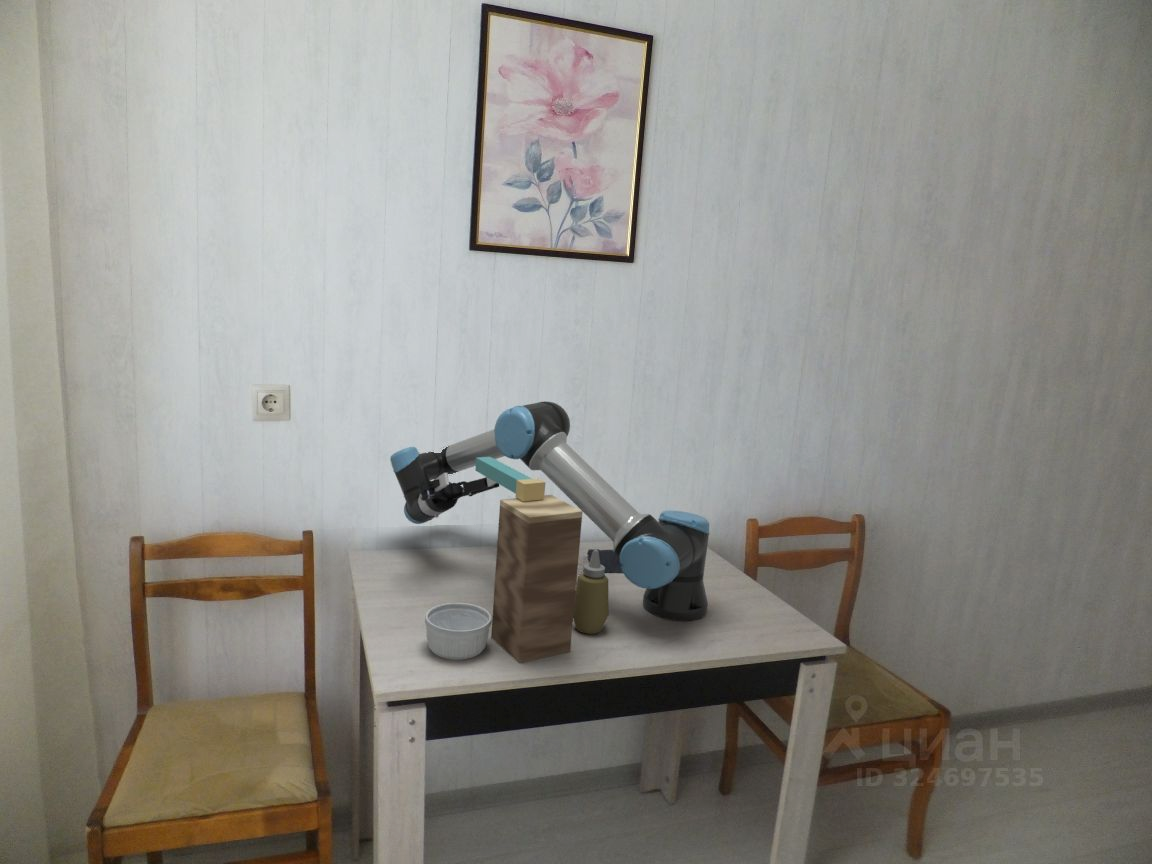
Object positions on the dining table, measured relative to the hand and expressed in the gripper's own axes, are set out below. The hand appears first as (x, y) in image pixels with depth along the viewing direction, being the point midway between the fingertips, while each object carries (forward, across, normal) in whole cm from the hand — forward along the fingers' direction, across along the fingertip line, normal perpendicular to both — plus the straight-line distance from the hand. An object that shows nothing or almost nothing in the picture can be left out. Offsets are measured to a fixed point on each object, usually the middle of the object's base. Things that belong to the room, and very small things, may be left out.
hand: (474, 476), depth 191 cm
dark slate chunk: (-16, -48, -24) cm, 56 cm away
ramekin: (+7, +14, -37) cm, 40 cm away
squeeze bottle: (+10, -16, -38) cm, 43 cm away
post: (+12, 0, -39) cm, 41 cm away
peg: (+14, 0, -6) cm, 15 cm away
